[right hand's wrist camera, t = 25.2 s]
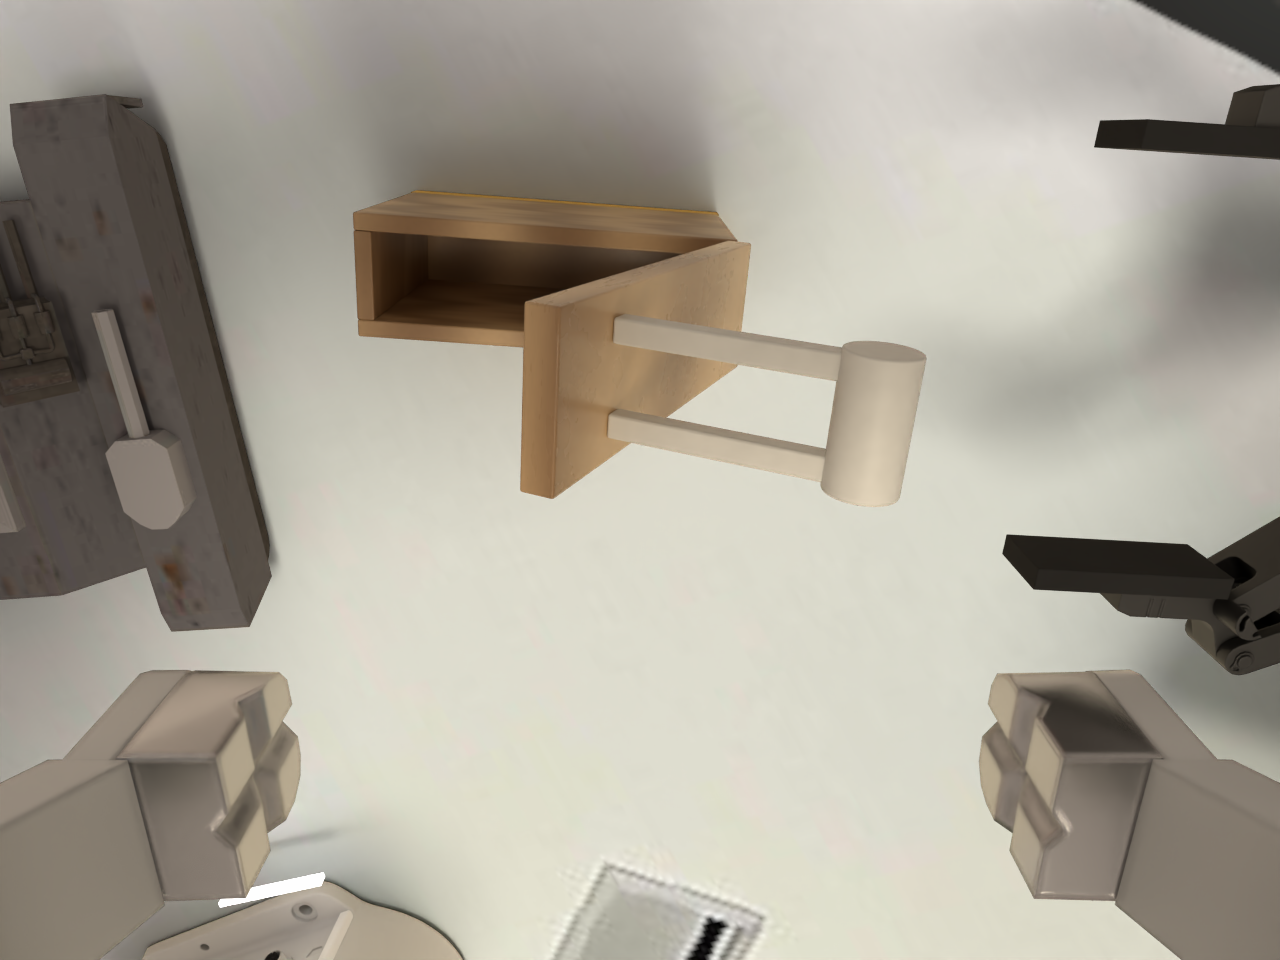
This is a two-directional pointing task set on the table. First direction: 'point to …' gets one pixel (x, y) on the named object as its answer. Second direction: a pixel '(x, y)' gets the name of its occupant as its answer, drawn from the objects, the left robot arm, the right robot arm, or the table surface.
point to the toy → (116, 380)
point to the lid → (699, 381)
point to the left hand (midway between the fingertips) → (1063, 365)
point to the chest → (500, 258)
